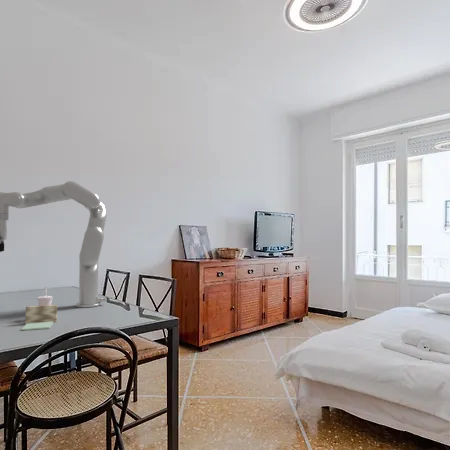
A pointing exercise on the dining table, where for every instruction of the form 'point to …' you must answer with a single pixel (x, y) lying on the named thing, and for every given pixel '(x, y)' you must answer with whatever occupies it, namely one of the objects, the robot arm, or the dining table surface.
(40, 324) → the mat
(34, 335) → the dining table surface
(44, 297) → the smoothie
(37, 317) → the screen
